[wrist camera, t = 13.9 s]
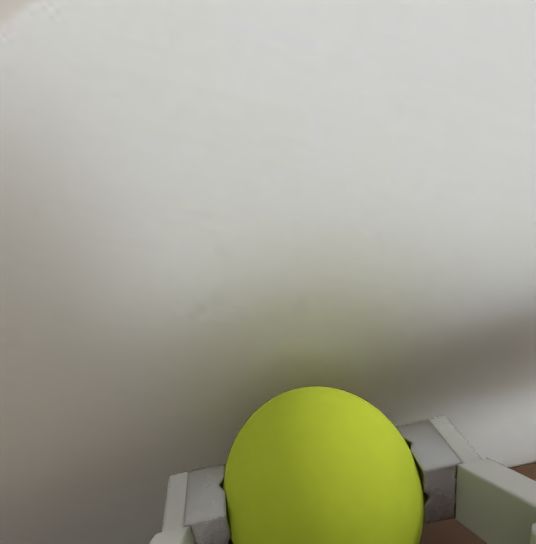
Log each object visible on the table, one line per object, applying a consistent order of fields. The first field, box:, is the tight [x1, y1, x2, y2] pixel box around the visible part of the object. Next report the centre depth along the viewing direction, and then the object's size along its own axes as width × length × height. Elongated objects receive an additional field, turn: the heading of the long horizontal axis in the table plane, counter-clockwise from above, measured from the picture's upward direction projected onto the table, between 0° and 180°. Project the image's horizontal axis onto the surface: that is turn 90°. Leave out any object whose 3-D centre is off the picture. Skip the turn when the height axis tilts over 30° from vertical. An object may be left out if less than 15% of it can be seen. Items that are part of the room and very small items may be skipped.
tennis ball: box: [223, 386, 424, 544], centre depth 10 cm, size 5×5×5 cm
